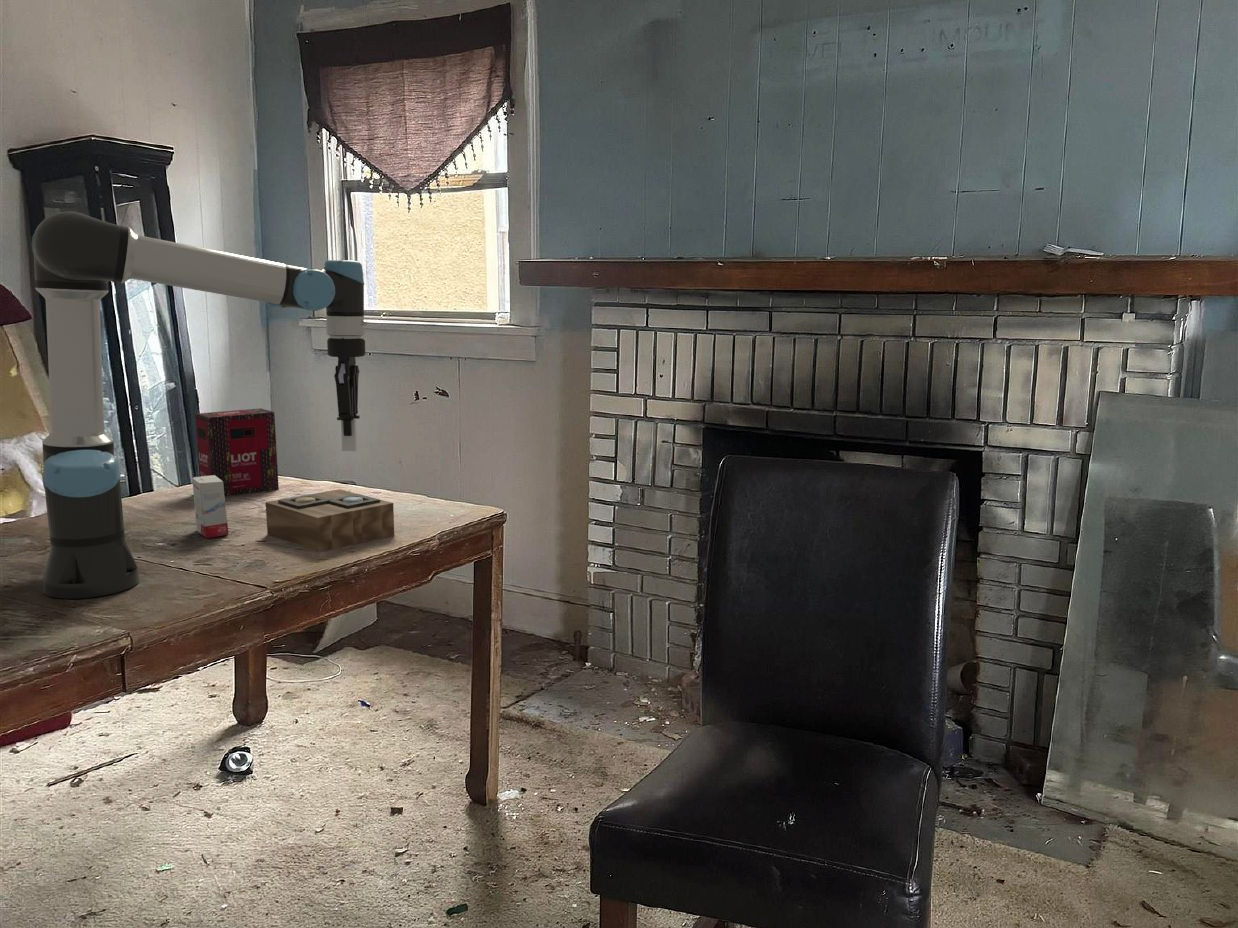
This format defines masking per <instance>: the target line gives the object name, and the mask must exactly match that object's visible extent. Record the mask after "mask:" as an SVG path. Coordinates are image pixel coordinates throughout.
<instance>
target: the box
mask: <svg viewBox="0 0 1238 928" xmlns="http://www.w3.org/2000/svg"><path fill="white" fill-rule="evenodd" d="M194 416H195V417H194V418H195V432H196V434H195V435H196V444H197V445H196V447H197V457H198V458H197V459H198V461H197V462H198V470H199V472H198V473H199V476H198V477H201V476H211V475H215V476H216V477H218V478H219V479H220V480H222V481H223V486H224V496H225V498H228V497H235V496H243V495H251V494H258V492H259V493H264V492H263V491H266V492H271V491H272V492H273V491H278V490H279V489H280V488H279V486H280V485H279V470H278V451H277V437H276V419H275V417H276V416H275V411H273V410H269V409H265V408H259V407H258V408H248V409H237V410H222V411H213V412H200V413H194Z"/></svg>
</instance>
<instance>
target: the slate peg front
mask: <svg viewBox="0 0 1238 928" xmlns="http://www.w3.org/2000/svg"><path fill="white" fill-rule="evenodd" d="M360 501H363V498H361V497H348V498H344V499H343V502H346V503H355V502H360Z"/></svg>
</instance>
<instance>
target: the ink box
mask: <svg viewBox="0 0 1238 928" xmlns="http://www.w3.org/2000/svg"><path fill="white" fill-rule="evenodd" d="M191 480H192V489H193V490H192V493H193V502H194V503H193V505H194V514H195V516H194V517H195V525H196V526H195V527H196V531H197V532H198V533H199V534H200V535H202V536H203V537H204V538H206V539H209V538H216V537H222V536H228V535H229V533H230V532H229V526H228V515H227V509H226V508H227V507H226V499H225V498H226V497H225V496H224V486H223V481H222V480H220V479H219V478H218V477H216V476H215V475H211V476H201V477H200V476H194V477H192V478H191Z"/></svg>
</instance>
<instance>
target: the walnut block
mask: <svg viewBox="0 0 1238 928" xmlns="http://www.w3.org/2000/svg"><path fill="white" fill-rule="evenodd" d="M303 497H312V498H315V501H313V502H308V503H302V504H300V503H297V502H296V501H295V500H296V499H298V498H303ZM348 497H361V498H363V501H360V502H355V503H346V502H343V499H344V498H348ZM394 510H395V509H394V502H392V501H391V502H390V501H387V500H382V499H380V498H375V497H372V496H368V495H366V494H365V495H364V494H360V493H356V492H353V491H349V490H344V489H340V488H338V489H333V490H328V491H327V490H326V491H321V492H316V493H315V492H314V493H311V494H305V495H300V496H299V495H298V496H293V497H289V498H288V497H287V498H281V499H276V500H270V501H265V513H266V514H265V515H266V531H267V535H268V536H271V537H274V538H278V539H280V540H283V541H286V542H289V543H291V544H295V545H298V546H301V547H303V548H306V549H309V550H313V551H315V552H318V553H321V552H326V551H329V550H335V549H339V548H342V547H348V546H352V545H357V544H361V543H365V542H369V541H374V540H380V539H382V538H387V537H393V536H395V515H394Z"/></svg>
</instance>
